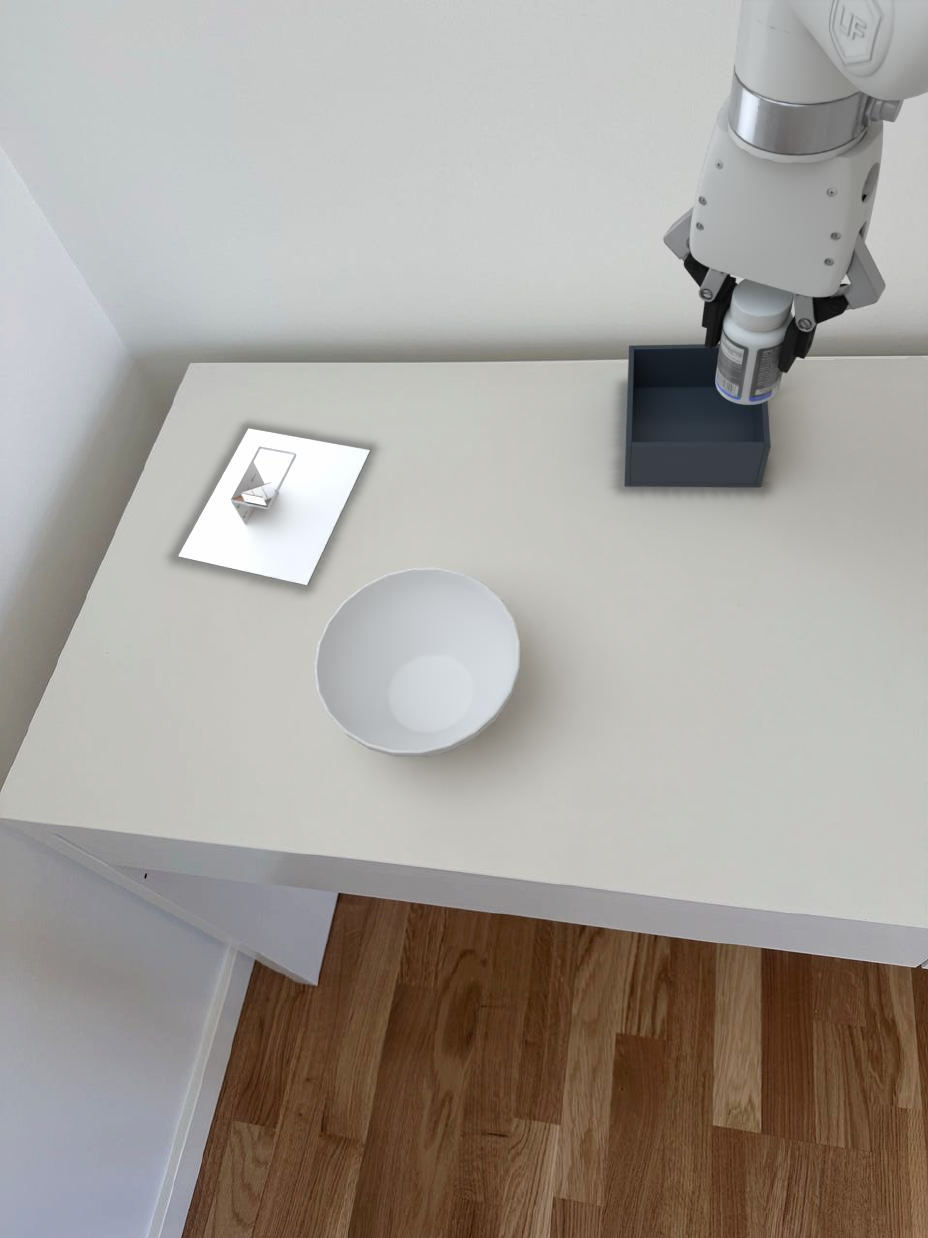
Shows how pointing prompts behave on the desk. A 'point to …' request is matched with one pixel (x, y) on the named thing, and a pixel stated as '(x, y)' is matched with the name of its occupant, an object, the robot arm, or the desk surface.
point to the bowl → (418, 662)
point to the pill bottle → (753, 343)
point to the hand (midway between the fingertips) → (753, 344)
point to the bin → (689, 423)
